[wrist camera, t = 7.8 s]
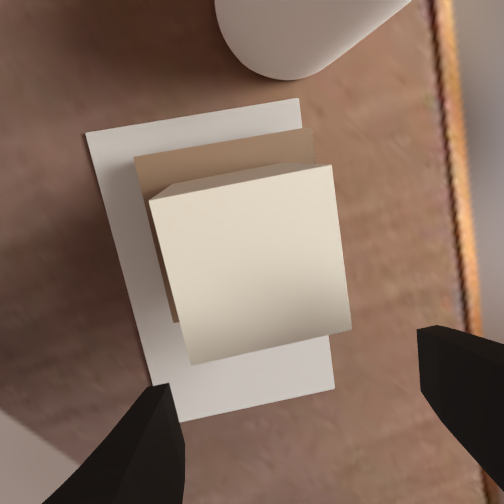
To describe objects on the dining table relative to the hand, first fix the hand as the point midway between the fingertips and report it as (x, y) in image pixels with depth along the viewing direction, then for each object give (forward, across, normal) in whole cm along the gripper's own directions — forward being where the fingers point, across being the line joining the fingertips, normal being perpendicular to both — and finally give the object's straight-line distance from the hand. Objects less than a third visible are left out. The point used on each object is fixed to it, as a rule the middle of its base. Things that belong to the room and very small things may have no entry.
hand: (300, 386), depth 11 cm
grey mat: (+10, +2, -1) cm, 10 cm away
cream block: (+6, +1, -4) cm, 7 cm away
